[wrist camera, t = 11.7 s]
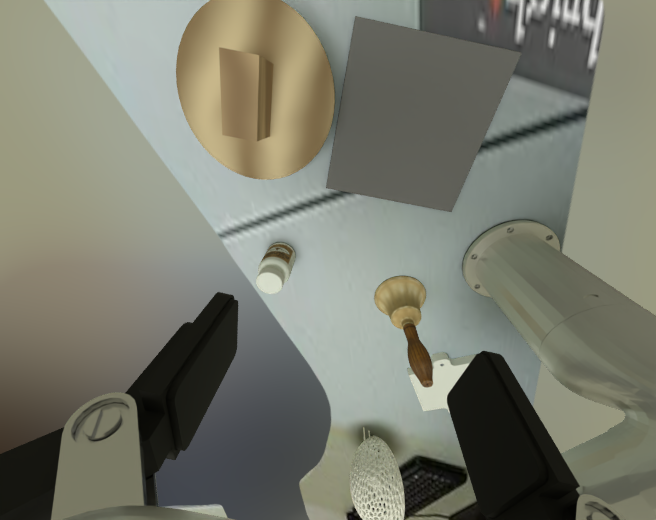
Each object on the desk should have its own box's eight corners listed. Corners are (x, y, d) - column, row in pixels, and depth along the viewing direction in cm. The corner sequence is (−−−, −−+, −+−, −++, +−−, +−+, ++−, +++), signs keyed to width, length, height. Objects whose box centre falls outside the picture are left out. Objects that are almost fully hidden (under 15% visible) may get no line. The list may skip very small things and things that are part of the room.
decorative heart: (340, 421, 63) (338, 517, 48) (382, 413, 60) (395, 512, 46) (364, 455, 71) (369, 546, 56) (403, 450, 68) (419, 544, 54)
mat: (518, 53, 26) (521, 52, 26) (450, 210, 35) (451, 211, 35) (355, 17, 26) (355, 16, 25) (326, 187, 34) (326, 187, 34)
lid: (349, 13, 22) (350, -11, 17) (321, 188, 30) (317, 203, 25) (170, -24, 21) (122, -60, 17) (189, 164, 29) (160, 175, 24)
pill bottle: (294, 241, 39) (283, 268, 32) (297, 266, 41) (288, 296, 34) (265, 242, 39) (248, 269, 32) (270, 266, 41) (255, 297, 35)
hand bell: (390, 268, 40) (413, 351, 27) (435, 286, 42) (480, 375, 28) (365, 305, 44) (374, 394, 31) (407, 321, 46) (434, 413, 32)
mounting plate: (403, 358, 51) (405, 367, 49) (473, 343, 48) (477, 352, 46) (423, 408, 59) (426, 417, 57) (484, 398, 56) (488, 407, 54)
